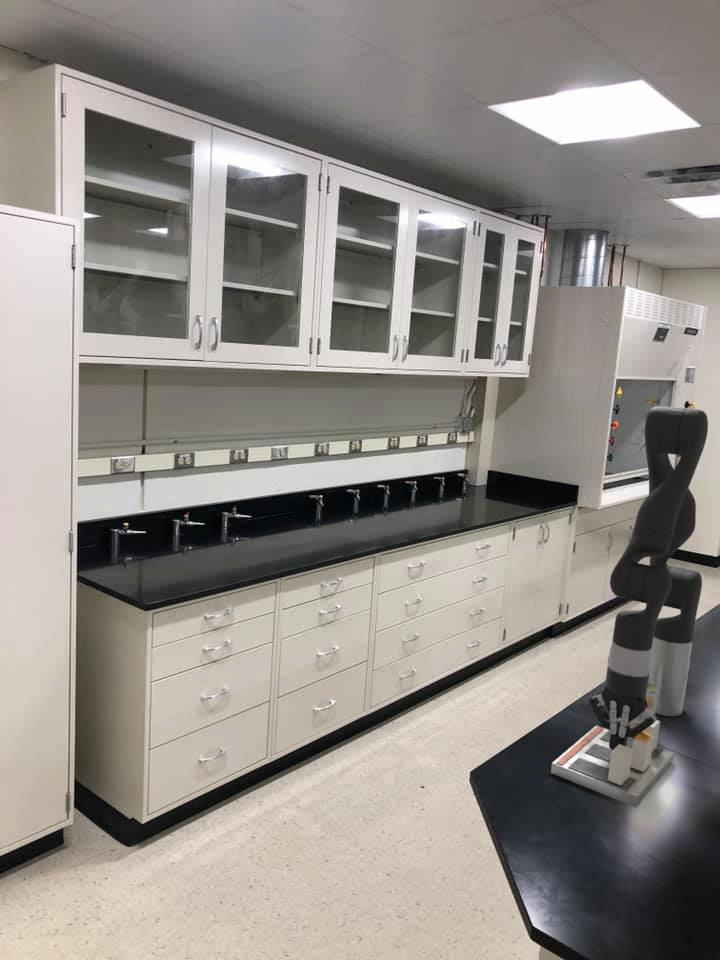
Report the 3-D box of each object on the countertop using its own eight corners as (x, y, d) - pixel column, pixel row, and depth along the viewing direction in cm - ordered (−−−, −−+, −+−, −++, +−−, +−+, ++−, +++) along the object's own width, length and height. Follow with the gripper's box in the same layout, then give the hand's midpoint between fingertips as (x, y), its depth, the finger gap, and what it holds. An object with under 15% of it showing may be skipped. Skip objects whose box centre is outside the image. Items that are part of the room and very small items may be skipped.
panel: (595, 734, 161) (596, 724, 161) (673, 762, 152) (674, 752, 151) (550, 772, 144) (552, 762, 144) (636, 807, 134) (637, 795, 134)
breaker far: (643, 742, 154) (647, 717, 153) (656, 747, 153) (660, 721, 152) (637, 749, 151) (640, 723, 150) (650, 754, 149) (653, 727, 149)
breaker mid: (636, 759, 147) (640, 729, 146) (650, 764, 146) (654, 733, 145) (629, 766, 144) (633, 736, 143) (643, 771, 142) (647, 740, 142)
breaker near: (615, 772, 142) (619, 744, 141) (629, 777, 140) (632, 748, 139) (607, 780, 138) (611, 751, 138) (621, 785, 137) (625, 756, 136)
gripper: (670, 672, 144) (657, 758, 146) (602, 651, 152) (591, 733, 154) (657, 683, 138) (644, 772, 141) (587, 661, 146) (576, 746, 149)
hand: (616, 752), depth 147 cm, fingers closed
